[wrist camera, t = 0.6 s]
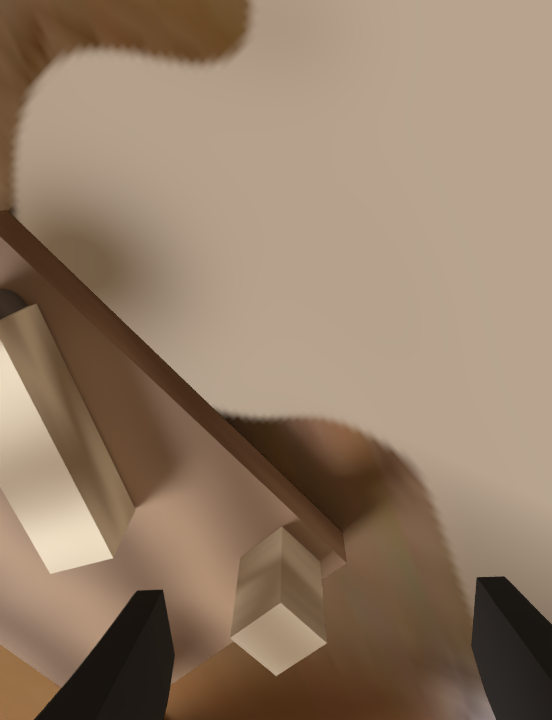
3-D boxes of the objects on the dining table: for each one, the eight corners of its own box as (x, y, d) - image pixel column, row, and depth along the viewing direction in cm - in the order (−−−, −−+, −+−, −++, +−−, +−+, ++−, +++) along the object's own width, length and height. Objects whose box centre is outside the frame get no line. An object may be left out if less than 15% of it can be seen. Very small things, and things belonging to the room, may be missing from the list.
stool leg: (-39, 300, 18) (-121, 330, 14) (24, 279, 18) (-43, 304, 14) (80, 524, 21) (37, 595, 17) (135, 509, 21) (103, 579, 17)
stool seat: (125, 686, 27) (82, 821, 21) (-199, 447, 22) (-362, 537, 17) (341, 532, 23) (359, 644, 18) (7, 210, 19) (-114, 223, 13)
